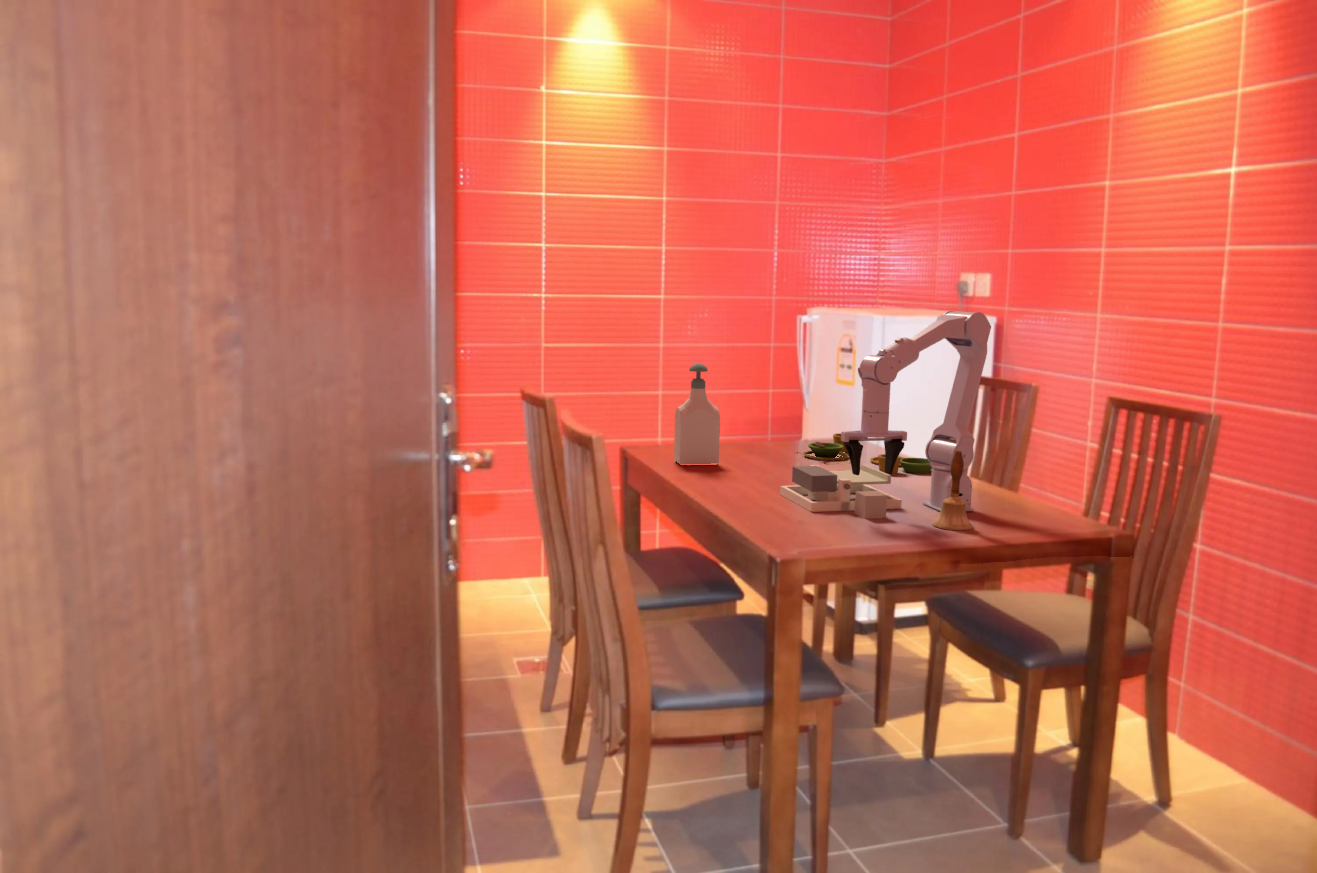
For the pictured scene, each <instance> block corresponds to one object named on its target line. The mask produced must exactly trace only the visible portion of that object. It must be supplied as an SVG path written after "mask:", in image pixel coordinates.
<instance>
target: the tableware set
mask: <svg viewBox="0 0 1317 873" xmlns="http://www.w3.org/2000/svg"><path fill="white" fill-rule="evenodd" d="M832 438H833V442H821V441H815V442H810V443H808V445H807V447H808V448H809V449H810V450H806V451H807V452H804V453H803V456H804V457H805V458H807V457H809V458H813V459H812V460H814V459H819V460H818V461H822V460H840V461H838V462H839V463H841V462H843V463H849V464H851V462H850V461H844V460H843V459H845V460H847V459H848V458H849V455H848V453H843V452H847V450H846V448H845V446H844V443H843V441H841V432H840V433H838V432H837V433H834V434H832ZM812 453H814V454H815V456H816V457H814V456H810V455H807V454H812ZM838 454H839V455H841V456H840V457H839V456H837V455H838ZM836 456H837V457H839V458H835V457H836ZM842 456H843V457H842ZM809 458H808V459H809ZM869 461H870V462H871V463H872V464H874V465H877V466H878V468H879V469H878V470H879V471H881V472H884V473H885V453H883V454H882V453H881V454H878V455H877V456H874V457H870V459H869ZM820 463H821V464H820V465H822V464H824V463H826V464H825V465H840V464H839V463H837V462H820ZM899 468H902V470H903V472H906V473H910V474H929V473H930V472H932V467H931V466H930V462H929V461H928V459H927V458H923V457H903V456H900V455H899V456H898V458H897V460H896V463H895V465H894V468H893V472H892V474H889V475H891V476H892V475H898V472H899ZM860 470H861V466H860ZM886 474H887V473H886Z"/></svg>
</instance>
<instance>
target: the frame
mask: <svg viewBox="0 0 1317 873" xmlns="http://www.w3.org/2000/svg"><path fill="white" fill-rule="evenodd" d="M808 466H818V467H821V466H820V465H817V464H810V465H808ZM850 484H851V480H849V479H839V480H838V484H837V491H822V492H811V491H809V490H807V489H805V488H803V487H801V486H800V485H798V484H795V485H794V484H793V485H780V486H779V495H781V496H782V497H784V498H786V499H788V500H789V501H791V502H792V503H794V504H796V505H798V506H800V507H802V508H803V509H805V510H807V511H809V513H810V512H811V513H813V512H815V513H816V512H817V513H818V512H842V511H845V512H846V511H855V499H853V500H852V499H850V498H851V494H856V491H878V492H881V493H883V494H885V495H887V507H886V510H894V509H895V510H896V509H902V499H901V498H898V497H897V496H895V495H892V494H890V493H887V492H885V491H883V490H881V489H878V488H875V487H873V486H872V485H870V484H865V485H850ZM804 495H807V497H808V498H807V497H805V496H804ZM809 498H810V499H809ZM812 500H814V501H812Z"/></svg>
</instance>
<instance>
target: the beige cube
mask: <svg viewBox="0 0 1317 873" xmlns="http://www.w3.org/2000/svg"><path fill="white" fill-rule="evenodd" d="M854 497H855V499H854V500H855V510H854V514H855V515H857V516H859V517H861V518H863V519H868V520H869V519H886V518H887V509H886V507H887V495H885V494H883V493H881V492H878V491H856V493H855V496H854Z"/></svg>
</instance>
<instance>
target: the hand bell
mask: <svg viewBox="0 0 1317 873" xmlns="http://www.w3.org/2000/svg"><path fill="white" fill-rule="evenodd" d="M963 468H964V461H963V457H962V451H955V454H954V456H953V459H952V461H951V476H952V487H951V494H950V497H949V498H947V499H945V500H944V501H943V505H942V509H941V511H939V514H938V516H937V517H936V518H935V519H933V521H932V523H931V525H932V526H934V527H935V528H937V529H938V528H939V529H942V530H949V531H970V530H973V529H974V527H973V524H972V523H971V522H970V520H969V519H968V516H967V511H966V509H965V502H964V501H963V500H961V499H960V498H959V486H960V479H961V476H962V473H963Z"/></svg>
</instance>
